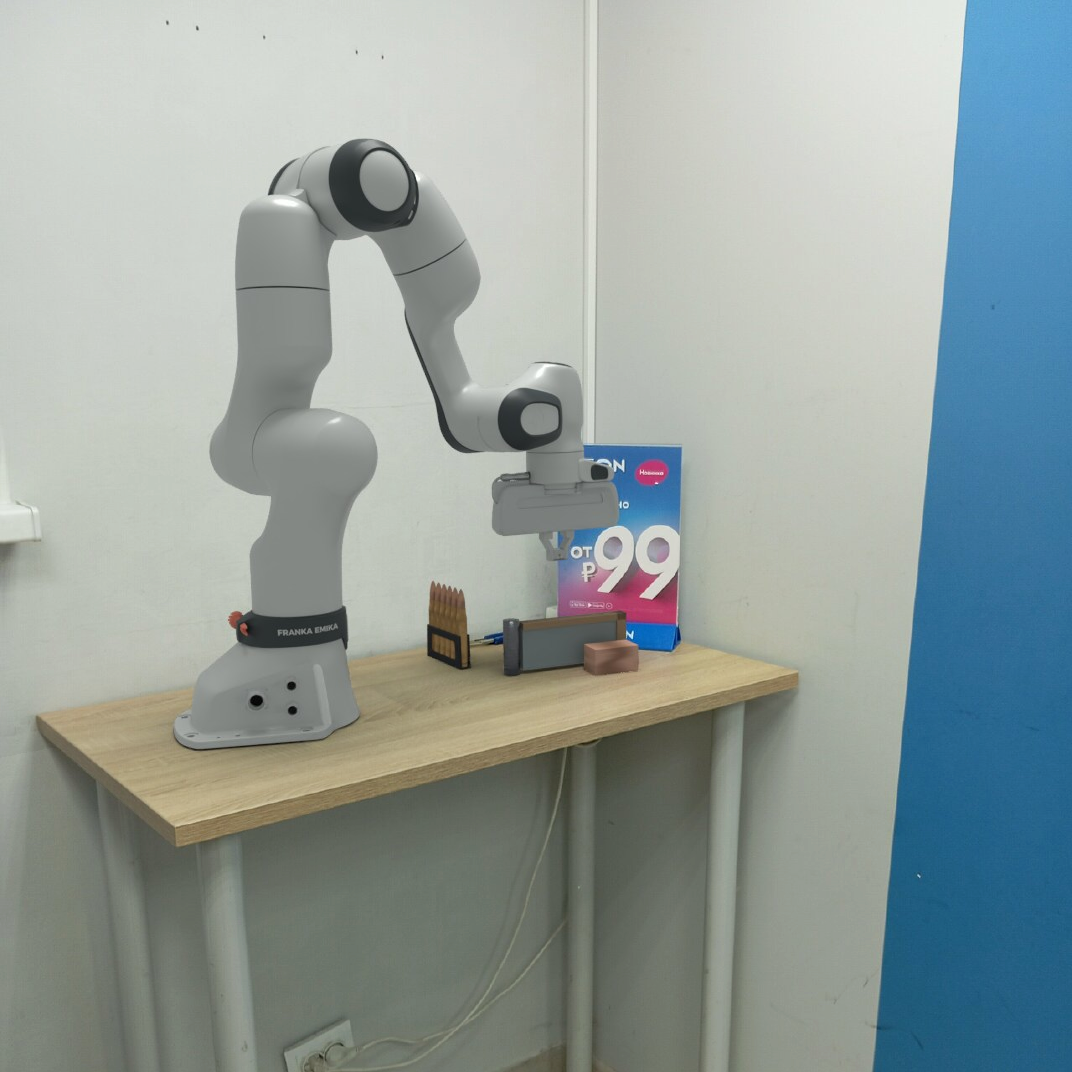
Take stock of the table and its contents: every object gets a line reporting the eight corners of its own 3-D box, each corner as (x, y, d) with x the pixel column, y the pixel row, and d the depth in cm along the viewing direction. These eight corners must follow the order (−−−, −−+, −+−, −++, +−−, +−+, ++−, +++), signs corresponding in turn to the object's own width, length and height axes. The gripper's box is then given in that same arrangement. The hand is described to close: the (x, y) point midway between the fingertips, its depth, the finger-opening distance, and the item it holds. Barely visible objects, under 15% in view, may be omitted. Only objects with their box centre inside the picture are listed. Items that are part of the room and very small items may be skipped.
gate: (524, 670, 149) (523, 623, 148) (518, 667, 151) (517, 621, 150) (626, 657, 156) (626, 612, 155) (620, 654, 158) (620, 610, 157)
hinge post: (507, 676, 148) (506, 622, 147) (501, 672, 150) (500, 619, 149) (522, 674, 149) (521, 620, 148) (516, 670, 151) (515, 617, 150)
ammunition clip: (471, 668, 153) (469, 589, 152) (460, 670, 152) (458, 590, 151) (437, 653, 162) (435, 579, 160) (426, 655, 161) (424, 580, 159)
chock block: (595, 677, 148) (595, 650, 147) (583, 670, 152) (583, 644, 151) (638, 671, 151) (638, 645, 150) (626, 665, 154) (626, 639, 154)
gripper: (499, 475, 148) (502, 569, 150) (623, 468, 156) (624, 557, 158) (483, 472, 154) (486, 563, 156) (604, 465, 162) (605, 551, 164)
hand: (557, 560), depth 157 cm, fingers closed
